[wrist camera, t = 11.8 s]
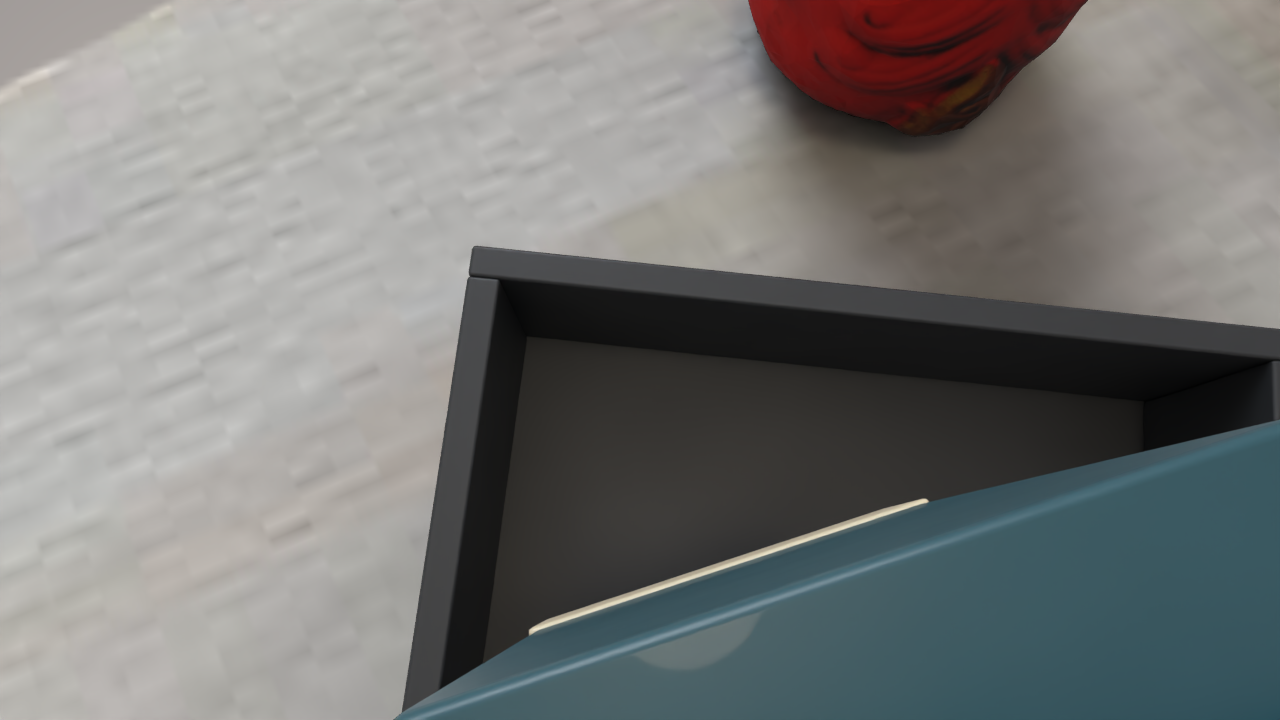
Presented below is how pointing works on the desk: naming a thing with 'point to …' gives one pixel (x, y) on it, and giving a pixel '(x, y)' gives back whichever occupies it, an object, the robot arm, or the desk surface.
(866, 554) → the teal gift box
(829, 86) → the red clay folk toy
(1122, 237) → the desk surface
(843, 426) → the dark grey open box
